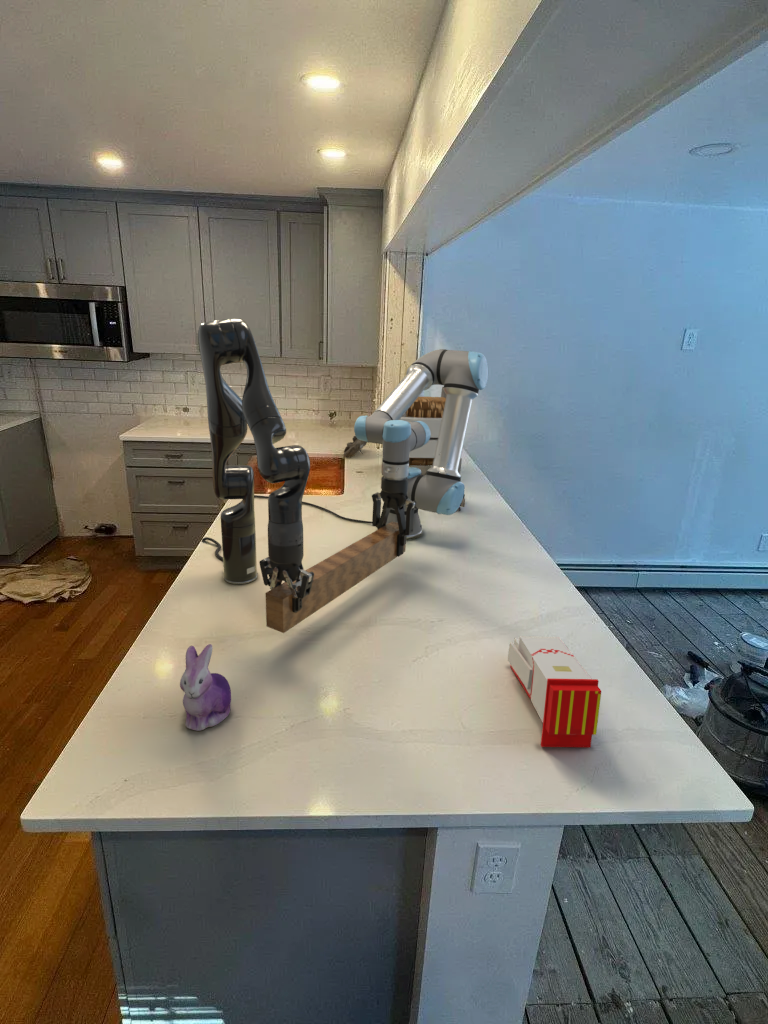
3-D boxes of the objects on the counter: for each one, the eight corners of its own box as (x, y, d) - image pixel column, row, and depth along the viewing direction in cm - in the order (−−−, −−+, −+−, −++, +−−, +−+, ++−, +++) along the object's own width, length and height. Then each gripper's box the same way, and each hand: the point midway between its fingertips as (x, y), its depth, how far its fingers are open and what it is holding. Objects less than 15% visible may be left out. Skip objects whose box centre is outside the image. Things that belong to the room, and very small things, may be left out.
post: (390, 547, 171) (392, 521, 168) (405, 551, 169) (407, 525, 166) (266, 626, 127) (265, 592, 124) (283, 633, 124) (282, 599, 122)
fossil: (343, 440, 315) (365, 425, 310) (354, 454, 317) (375, 439, 312) (337, 454, 295) (359, 438, 290) (348, 468, 298) (371, 453, 293)
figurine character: (465, 515, 224) (460, 499, 237) (467, 498, 221) (462, 483, 234) (448, 515, 224) (444, 499, 237) (450, 498, 220) (445, 482, 234)
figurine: (187, 740, 102) (180, 669, 97) (178, 706, 110) (171, 639, 105) (239, 725, 106) (236, 656, 101) (227, 693, 115) (223, 628, 109)
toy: (555, 619, 129) (611, 687, 100) (550, 674, 132) (602, 754, 102) (502, 618, 128) (542, 685, 99) (498, 673, 131) (536, 754, 102)
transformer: (382, 463, 289) (386, 382, 275) (445, 464, 293) (451, 384, 279) (390, 482, 257) (394, 392, 243) (460, 483, 261) (468, 394, 247)
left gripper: (248, 535, 122) (251, 604, 128) (300, 551, 115) (301, 624, 121) (272, 525, 128) (274, 592, 134) (323, 540, 121) (322, 609, 127)
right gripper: (360, 473, 160) (358, 549, 168) (416, 486, 151) (412, 564, 159) (374, 467, 166) (372, 541, 174) (429, 479, 157) (424, 555, 165)
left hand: (287, 607), depth 128 cm, fingers closed on post, 5 cm apart
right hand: (391, 552), depth 166 cm, fingers closed on post, 5 cm apart
